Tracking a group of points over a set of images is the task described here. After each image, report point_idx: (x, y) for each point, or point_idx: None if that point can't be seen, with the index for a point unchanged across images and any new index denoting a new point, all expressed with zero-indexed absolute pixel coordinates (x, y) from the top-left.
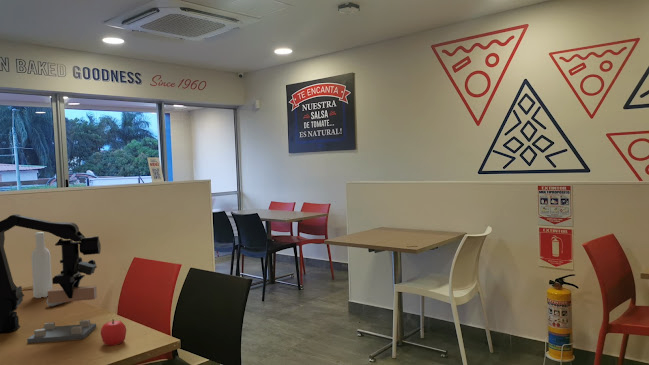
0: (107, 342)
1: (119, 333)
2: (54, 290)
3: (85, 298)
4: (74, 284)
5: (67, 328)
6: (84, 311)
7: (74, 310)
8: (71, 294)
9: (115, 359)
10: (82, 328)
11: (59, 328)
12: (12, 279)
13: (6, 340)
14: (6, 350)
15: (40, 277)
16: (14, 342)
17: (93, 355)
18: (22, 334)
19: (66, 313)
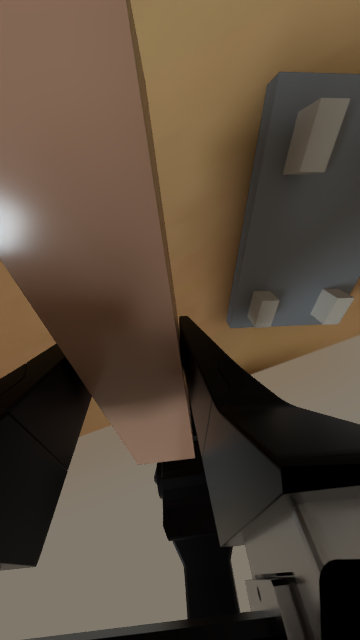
0: None
1: None
2: (179, 444)
3: (161, 204)
4: (55, 410)
5: (290, 236)
6: (2, 284)
7: (3, 326)
8: (201, 331)
9: None
10: (337, 144)
11: (272, 271)
12: (190, 602)
13: (265, 367)
14: (348, 337)
15: None
16: (292, 347)
17: None
18: (233, 357)
19: (44, 336)
